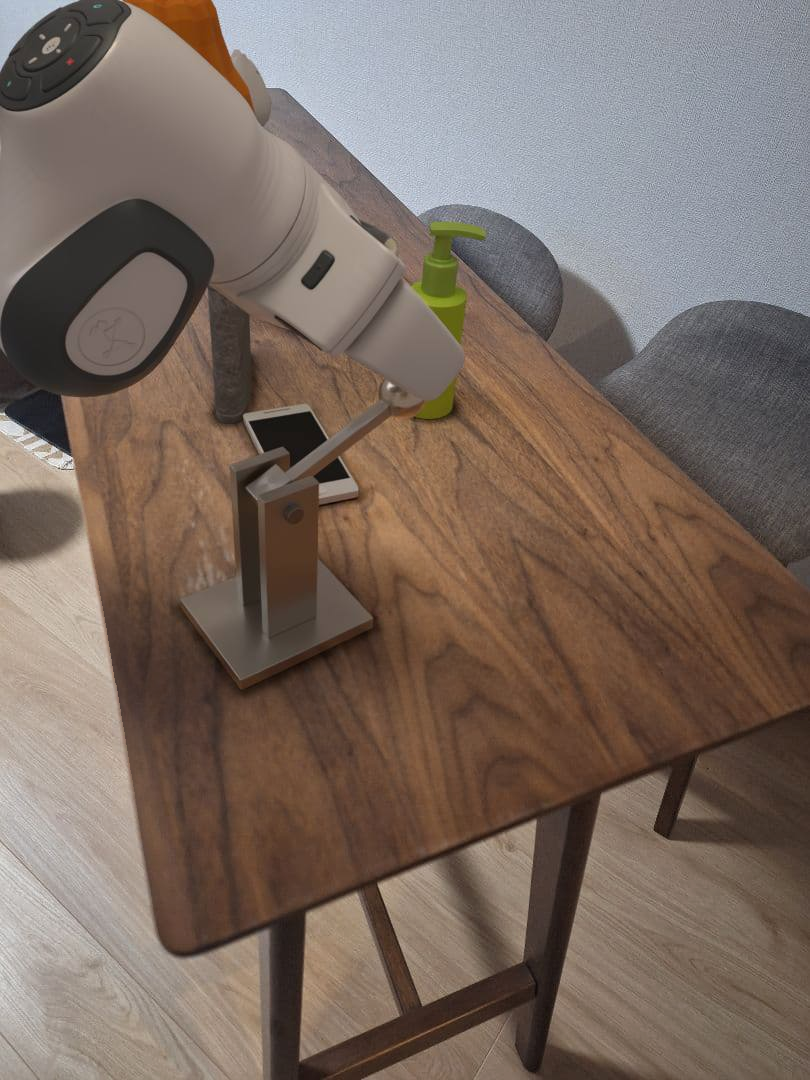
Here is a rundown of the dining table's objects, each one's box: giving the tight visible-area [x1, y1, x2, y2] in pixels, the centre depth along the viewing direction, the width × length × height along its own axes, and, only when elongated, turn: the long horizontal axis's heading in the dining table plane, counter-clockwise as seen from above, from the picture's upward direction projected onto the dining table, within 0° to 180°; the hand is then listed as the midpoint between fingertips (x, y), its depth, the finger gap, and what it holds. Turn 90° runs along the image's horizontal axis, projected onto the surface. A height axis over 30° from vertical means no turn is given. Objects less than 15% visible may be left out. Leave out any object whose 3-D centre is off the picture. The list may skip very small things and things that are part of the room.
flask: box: [207, 285, 253, 425], centre depth 93 cm, size 4×14×18 cm, turn 6°
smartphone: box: [242, 403, 360, 506], centre depth 90 cm, size 7×16×1 cm, turn 23°
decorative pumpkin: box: [122, 0, 256, 117], centre depth 134 cm, size 24×24×30 cm
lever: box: [246, 378, 426, 506], centre depth 66 cm, size 15×4×4 cm, turn 126°
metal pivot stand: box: [179, 447, 374, 691], centre depth 69 cm, size 12×10×15 cm
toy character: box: [230, 48, 273, 128], centre depth 159 cm, size 10×10×12 cm
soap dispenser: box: [409, 221, 487, 420], centre depth 93 cm, size 6×7×20 cm
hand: (400, 347), depth 64 cm, fingers closed
